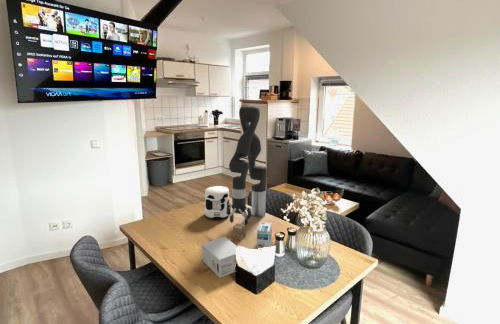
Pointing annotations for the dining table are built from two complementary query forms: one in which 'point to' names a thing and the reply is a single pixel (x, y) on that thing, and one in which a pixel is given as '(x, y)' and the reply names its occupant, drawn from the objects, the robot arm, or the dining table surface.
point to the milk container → (216, 202)
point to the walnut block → (239, 231)
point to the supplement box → (220, 256)
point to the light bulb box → (264, 235)
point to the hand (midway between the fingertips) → (238, 223)
